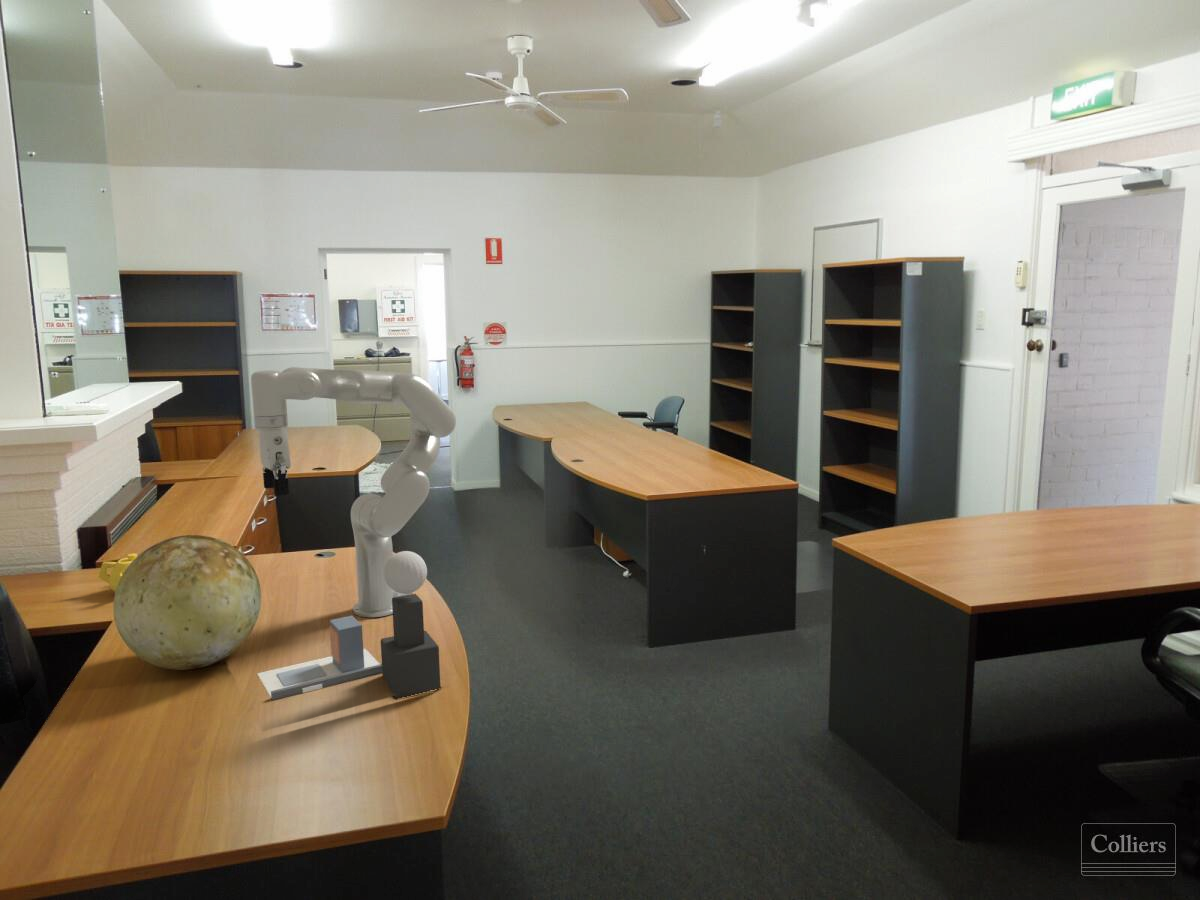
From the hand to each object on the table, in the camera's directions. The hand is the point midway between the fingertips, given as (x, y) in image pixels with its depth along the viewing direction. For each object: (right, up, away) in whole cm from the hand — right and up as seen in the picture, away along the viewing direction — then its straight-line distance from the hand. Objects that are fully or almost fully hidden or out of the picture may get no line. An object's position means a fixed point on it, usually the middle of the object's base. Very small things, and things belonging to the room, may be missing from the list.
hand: (276, 491), depth 206 cm
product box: (+23, -38, -18) cm, 48 cm away
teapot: (-55, -31, +36) cm, 72 cm away
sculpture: (+39, -41, -25) cm, 62 cm away
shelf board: (+18, -40, -21) cm, 49 cm away
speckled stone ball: (-14, -39, -13) cm, 43 cm away
